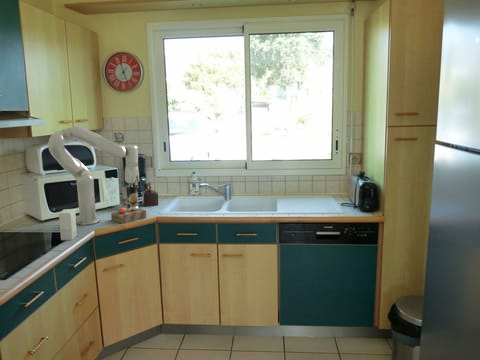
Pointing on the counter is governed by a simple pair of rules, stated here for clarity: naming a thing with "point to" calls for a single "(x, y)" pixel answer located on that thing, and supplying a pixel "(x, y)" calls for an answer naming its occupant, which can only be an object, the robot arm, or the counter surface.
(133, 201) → the coffee box
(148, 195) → the brown storage container
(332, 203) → the counter surface
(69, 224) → the skincare box
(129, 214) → the button box
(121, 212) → the red plunger
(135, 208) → the grey plunger
